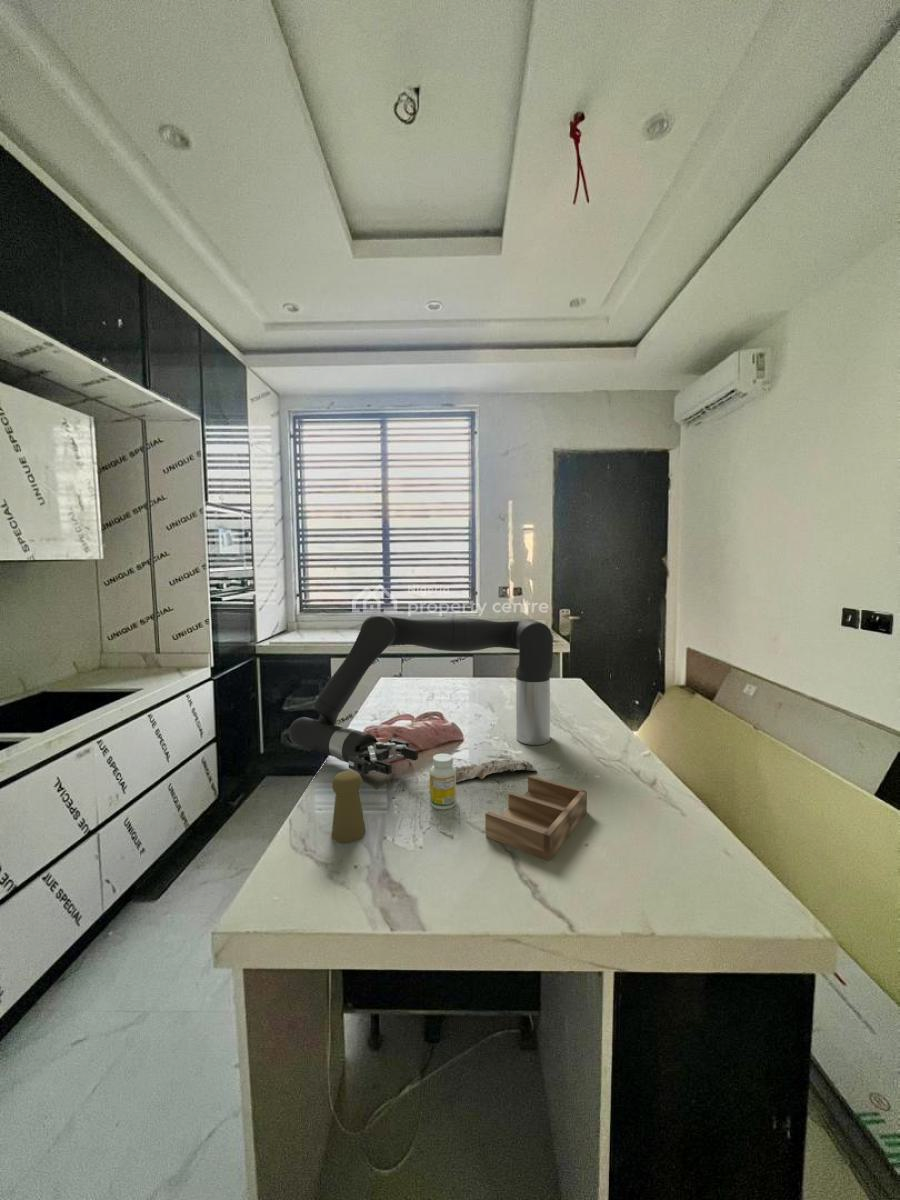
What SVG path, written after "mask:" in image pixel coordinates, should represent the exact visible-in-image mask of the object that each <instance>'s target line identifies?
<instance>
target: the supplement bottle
mask: <svg viewBox="0 0 900 1200" xmlns="http://www.w3.org/2000/svg"><path fill="white" fill-rule="evenodd" d="M453 758H454V756H453V755H451V754H449V753H437V754H434V755H433V756H432V764H433V765H432V766H431V767H430V769H429V799H430V801H429V802H430V804H431V807H433V808H434V809H437V810H450V809H452V808H454V807H455V806H456V804H457V782H456V769H455V767H456V766H455V765H453V764H454V759H453Z"/></svg>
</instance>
